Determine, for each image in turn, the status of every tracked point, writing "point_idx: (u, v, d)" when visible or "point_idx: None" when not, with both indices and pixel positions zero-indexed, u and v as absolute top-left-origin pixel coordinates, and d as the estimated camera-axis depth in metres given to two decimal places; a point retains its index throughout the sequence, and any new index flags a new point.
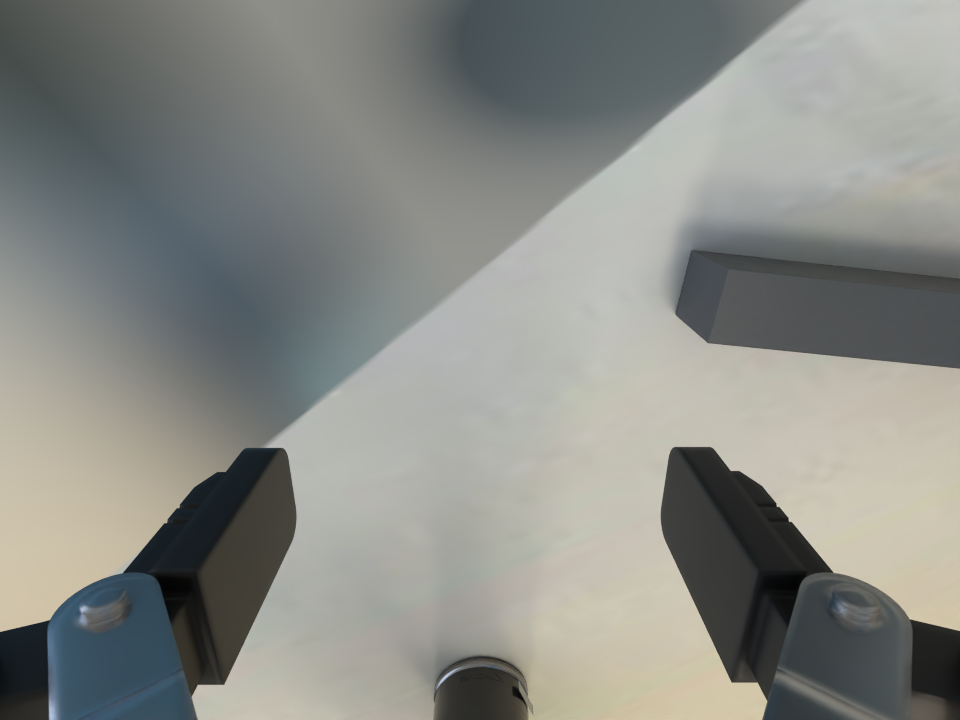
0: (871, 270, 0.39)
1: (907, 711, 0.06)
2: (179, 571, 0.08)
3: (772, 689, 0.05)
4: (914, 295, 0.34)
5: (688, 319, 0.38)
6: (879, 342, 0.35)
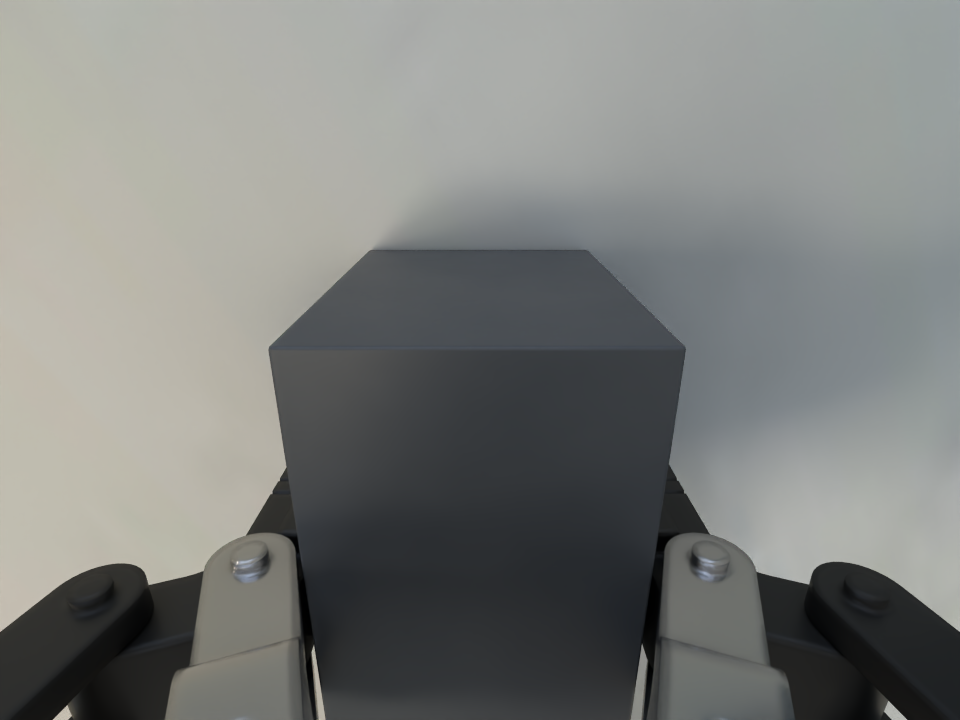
0: None
1: (728, 644, 0.06)
2: None
3: (661, 659, 0.06)
4: None
5: (366, 274, 0.10)
6: None
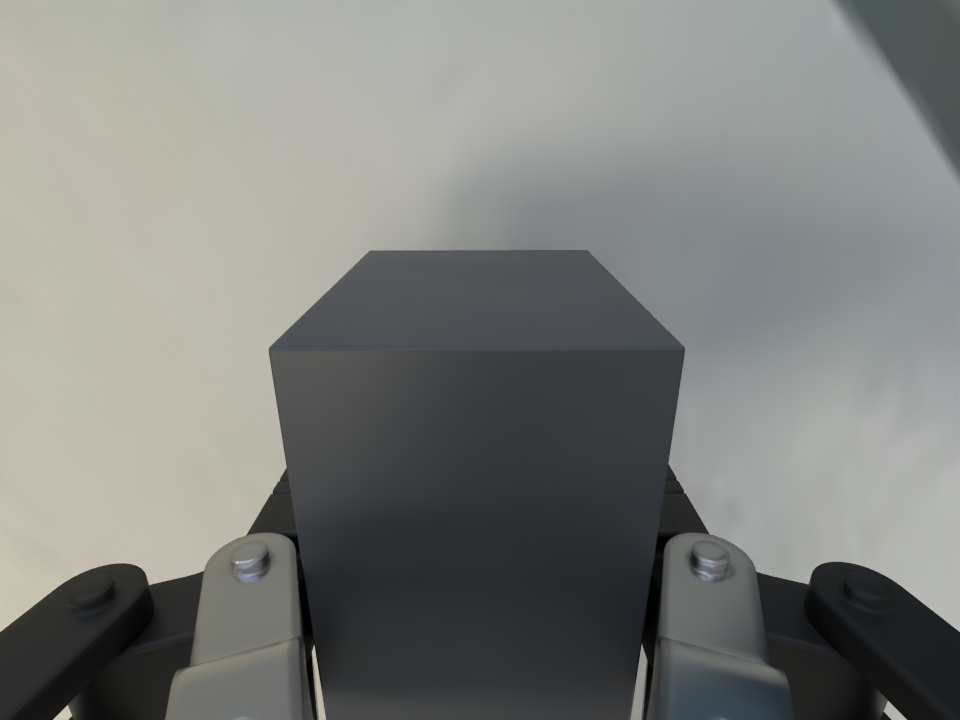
0: None
1: (728, 644, 0.06)
2: None
3: (661, 659, 0.06)
4: None
5: (366, 274, 0.10)
6: None
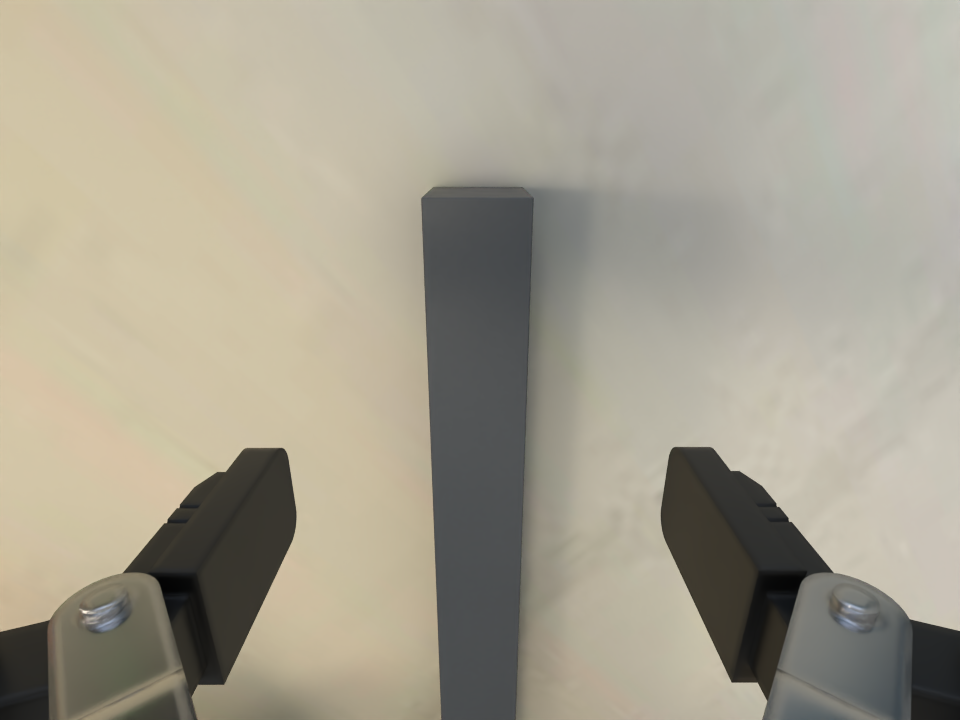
0: None
1: (907, 711, 0.06)
2: (179, 571, 0.08)
3: (772, 689, 0.05)
4: (516, 439, 0.28)
5: (437, 190, 0.27)
6: (453, 422, 0.27)
